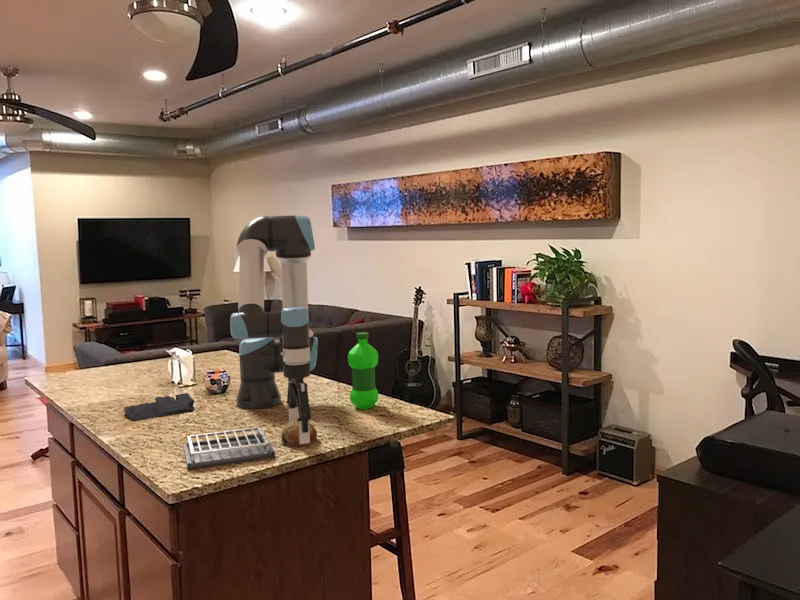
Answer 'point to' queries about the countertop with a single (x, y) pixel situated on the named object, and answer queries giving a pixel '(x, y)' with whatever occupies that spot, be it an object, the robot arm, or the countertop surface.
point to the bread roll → (296, 434)
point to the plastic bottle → (363, 373)
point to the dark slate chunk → (161, 407)
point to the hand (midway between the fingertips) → (299, 436)
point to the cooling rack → (227, 449)
